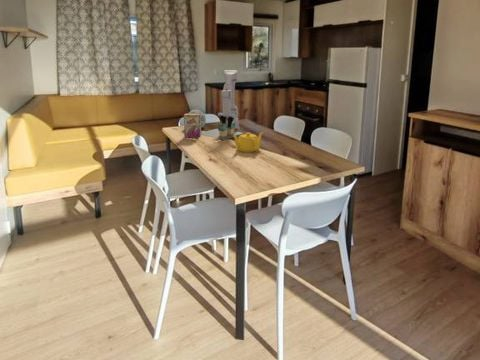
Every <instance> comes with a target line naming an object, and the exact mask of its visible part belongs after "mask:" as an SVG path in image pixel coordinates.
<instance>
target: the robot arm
mask: <svg viewBox="0 0 480 360" xmlns="http://www.w3.org/2000/svg"><path fill="white" fill-rule="evenodd" d="M223 78H224V81H225V83H224V84H223V89H222V90H221V101H222V112H218V113H217V116H218V117H219V120H220V122H221V124H224V123H228V128H230V127H231V124H232V122H235V128H234V130H236V129H237V130H241V129H240V120H239V118H238V117H239V109H238V106H236V105H235V90H236V87H235V86H236V83H237V82H238V81H239V71H238V70H230V69H229V70H228V69H225V70H224V71H223Z"/></svg>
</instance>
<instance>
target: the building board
mask: <svg viewBox="0 0 480 360" xmlns="http://www.w3.org/2000/svg"><path fill="white" fill-rule="evenodd" d="M243 134H245V133H244V132H241V131H240V132H239V131H235V129H230V130H226V131H218V128H214V129H209V130H206V131H201V136H203V137H209V138H215V139H218V140H219V141H225V140H229V139H232V138H234V137H233V136H236V137H237V138H238V137H239V136H240V135H243Z"/></svg>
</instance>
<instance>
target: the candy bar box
mask: <svg viewBox="0 0 480 360" xmlns="http://www.w3.org/2000/svg"><path fill="white" fill-rule="evenodd" d="M183 128H184V130H183V132H184V139H191V138H201V137H202V135H201V132H202V128H201V114H188V113H184V114H183Z"/></svg>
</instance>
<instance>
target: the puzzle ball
mask: <svg viewBox="0 0 480 360" xmlns="http://www.w3.org/2000/svg"><path fill="white" fill-rule="evenodd" d="M187 114H201V129H202V128H203V127H204V126H205V124H206V121H207V119H206V115H205V113H204V112H203V111H201V110H200V109H192V110H190V111H189V112H188V113H187Z"/></svg>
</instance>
